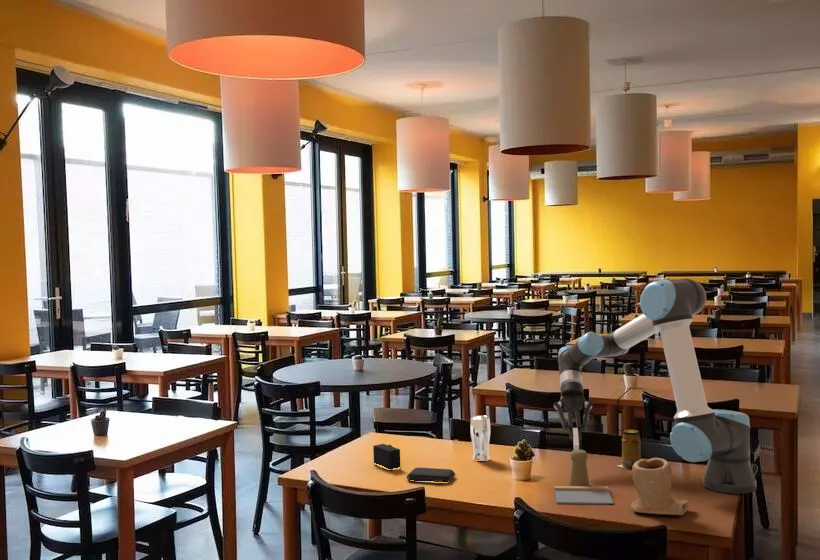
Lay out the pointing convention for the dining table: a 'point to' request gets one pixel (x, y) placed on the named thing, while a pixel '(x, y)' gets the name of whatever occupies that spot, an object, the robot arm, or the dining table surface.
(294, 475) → the dining table surface
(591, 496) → the mat
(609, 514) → the dining table surface
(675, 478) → the dining table surface
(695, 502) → the dining table surface
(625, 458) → the condiment
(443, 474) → the carrying case or bag
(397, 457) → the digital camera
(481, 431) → the beer glass
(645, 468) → the stone cup
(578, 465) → the cork
